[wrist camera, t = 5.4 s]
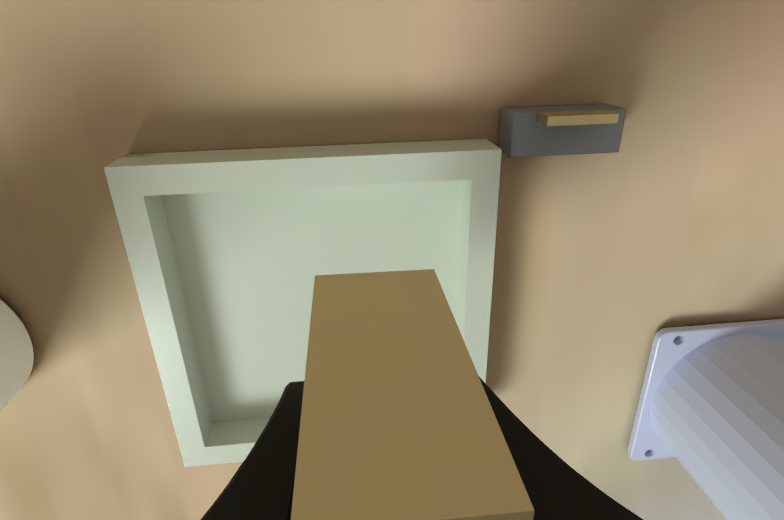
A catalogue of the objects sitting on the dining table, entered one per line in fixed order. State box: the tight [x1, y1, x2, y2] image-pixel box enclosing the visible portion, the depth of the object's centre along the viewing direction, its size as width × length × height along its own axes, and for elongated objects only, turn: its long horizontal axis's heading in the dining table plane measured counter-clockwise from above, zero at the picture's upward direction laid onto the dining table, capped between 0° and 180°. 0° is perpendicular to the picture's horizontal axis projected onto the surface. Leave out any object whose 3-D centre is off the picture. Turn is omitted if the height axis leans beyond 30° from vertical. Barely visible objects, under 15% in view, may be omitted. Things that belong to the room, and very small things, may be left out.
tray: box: [103, 139, 502, 467], centre depth 20 cm, size 13×13×2 cm
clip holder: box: [498, 104, 626, 157], centre depth 16 cm, size 4×9×2 cm, turn 1°
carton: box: [291, 269, 535, 520], centre depth 10 cm, size 3×5×7 cm, turn 1°
